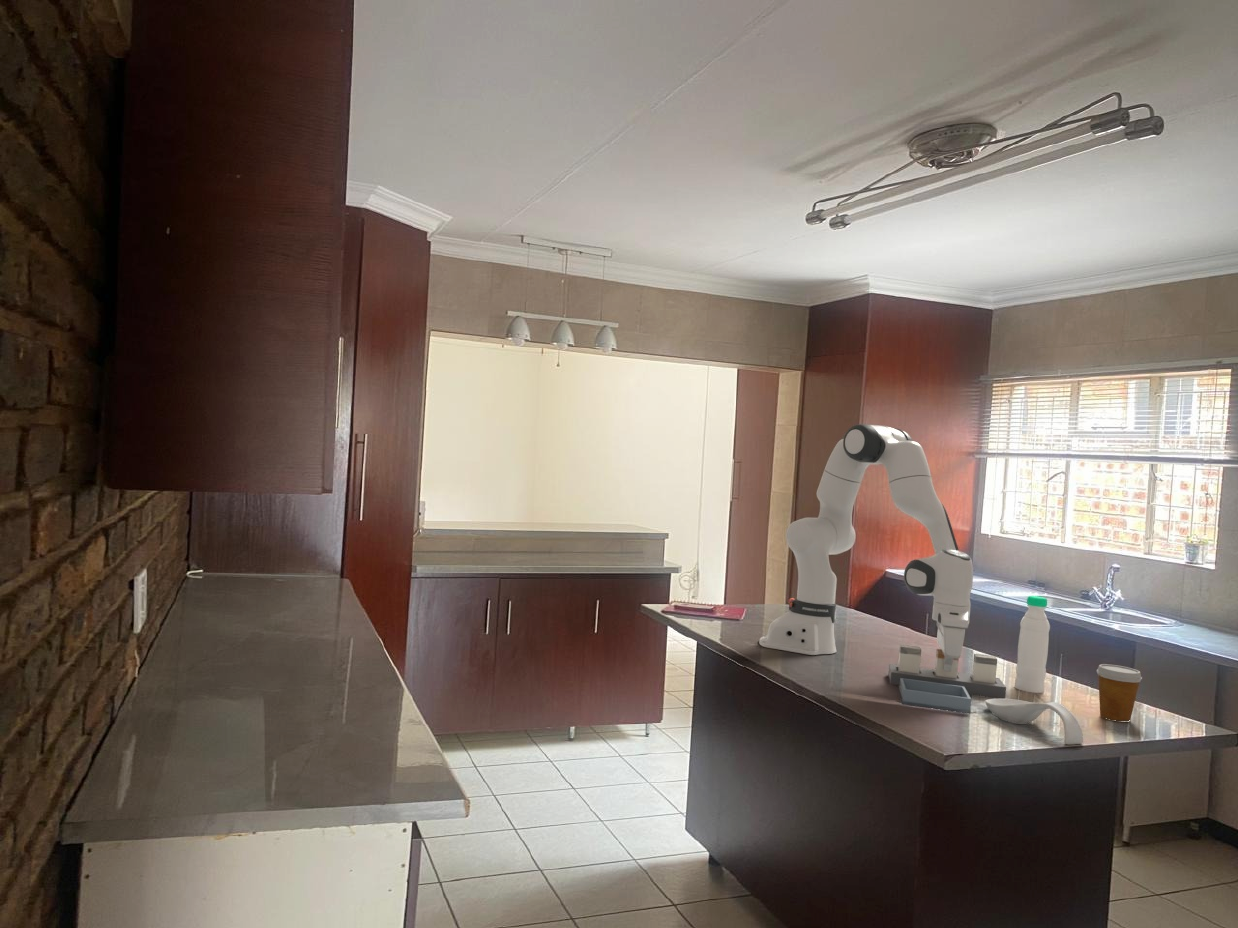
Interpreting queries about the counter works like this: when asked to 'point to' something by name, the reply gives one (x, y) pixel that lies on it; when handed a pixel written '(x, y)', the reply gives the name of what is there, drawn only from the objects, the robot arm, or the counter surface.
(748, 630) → the counter surface
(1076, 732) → the spoon rest
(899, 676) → the fuse strip
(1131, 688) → the disposable coffee cup
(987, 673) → the block
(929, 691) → the tray
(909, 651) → the block
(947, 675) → the orange cap fuse
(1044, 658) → the water bottle
